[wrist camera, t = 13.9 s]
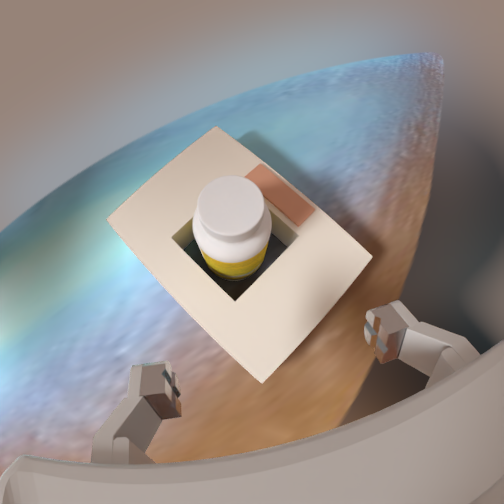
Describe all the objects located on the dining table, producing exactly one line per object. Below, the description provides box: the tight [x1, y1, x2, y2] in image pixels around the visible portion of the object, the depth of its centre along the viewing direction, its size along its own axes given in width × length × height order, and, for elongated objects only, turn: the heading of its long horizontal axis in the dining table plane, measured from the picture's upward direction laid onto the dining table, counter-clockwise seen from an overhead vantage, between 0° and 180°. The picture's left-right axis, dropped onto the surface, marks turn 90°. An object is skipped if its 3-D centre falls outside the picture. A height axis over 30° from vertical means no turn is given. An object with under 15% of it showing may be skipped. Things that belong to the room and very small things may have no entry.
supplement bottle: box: [192, 175, 272, 281], centre depth 22 cm, size 5×5×10 cm
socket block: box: [106, 126, 373, 383], centre depth 24 cm, size 18×13×4 cm
